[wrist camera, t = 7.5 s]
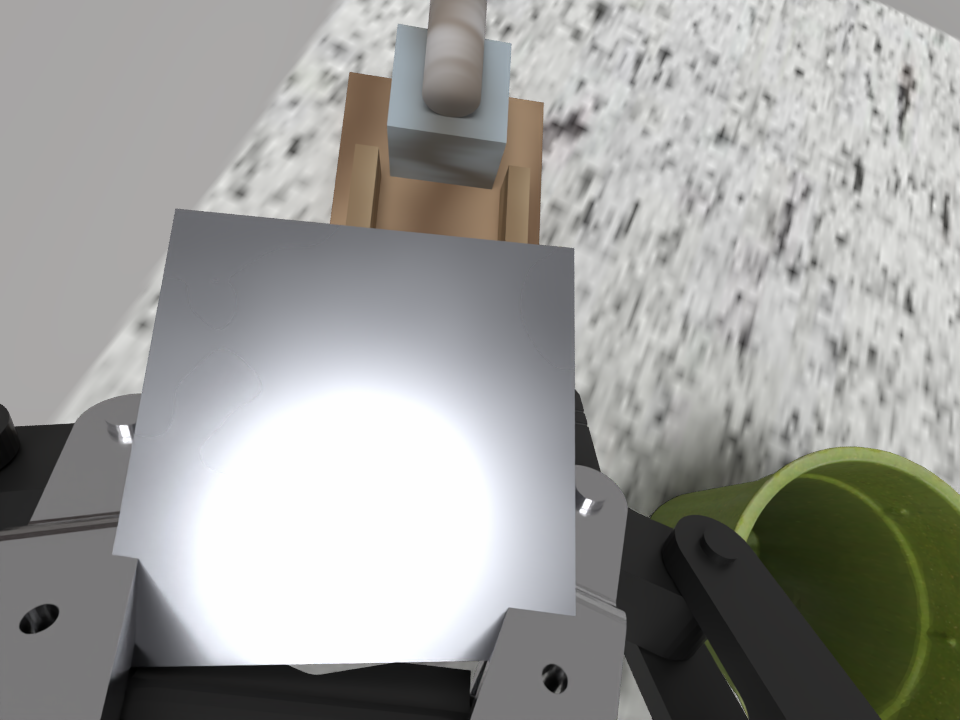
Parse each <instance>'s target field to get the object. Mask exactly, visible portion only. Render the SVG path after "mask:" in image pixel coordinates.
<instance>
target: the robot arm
mask: <svg viewBox="0 0 960 720" xmlns="http://www.w3.org/2000/svg"><path fill="white" fill-rule="evenodd" d="M141 395H142V394H129V395H123V396H118V397H114V398H111V399H108V400H105V401H103V402H101V403H98V404H96V405H94V406H93V407H91V408H89V409H88V410H87V411H85V412H84V413H83V414H82V415H81V416H80V417H79V418H78V419H77V421H76V422H75V423H71V424H55V425H38V426H37V425H35V426H16V427H14V424H13V422H12V419H11V417H10V414H9V412H8V411H7V409H6V408H5V407H4V406H3V405H1V404H0V720H617V715H618V705H619V696H620V686H621V676H622V666H623V657H624V655H625V657H626V660H627V662H628V664H629V666H630V669H631V671H632V673H633V676H634V678H635V680H636V683H637V685H638V687H639V689H640V692H641V694H642V696H643V699H644V701H645V703H646V705H647V708H648V710H649V712H650V715H651V717H652V719H653V720H748V718H749V720H882V719H881V718H880V717H879V716H878V714H877V713H876V712H875V710H874V709H873V708H872V706H871V705H870V704H869V702H868V701H867V700H866V698H865V697H864V696H863V695H862V693H861V692H860V691H859V689H858V688H857V687H856V685H855V684H854V683H853V681H852V680H851V679H850V677H849V676H848V675H847V673H846V672H845V671H844V670H843V668H842V667H841V666H840V664H839V663H838V662H837V660H836V659H835V658H834V656H833V655H832V654H831V652H830V651H829V650H828V649H827V647H826V646H825V645H824V643H823V642H822V641H821V639H820V638H819V637H818V635H817V634H816V633H815V631H814V630H813V629H812V627H811V626H810V625H809V624H808V622H807V621H806V620H805V618H804V617H803V616H802V614H801V613H800V612H799V610H798V609H797V608H796V606H795V605H794V604H793V603H792V601H791V600H790V599H789V597H788V596H787V595H786V593H785V592H784V591H783V589H782V588H781V587H780V585H779V584H778V583H777V582H776V580H775V579H774V578H773V576H772V575H771V574H770V572H769V571H768V570H767V568H766V567H765V566H764V564H763V563H762V562H761V560H760V559H759V558H758V557H757V555H756V554H755V553H754V551H753V550H752V549H751V547H750V546H749V545H748V544H747V543H746V541H745V540H744V539H743V538H742V537H741V536H740V535H739V534H737V533H736V532H735V531H734V530H732V529H731V528H729V527H728V526H726V525H725V524H723V523H721V522H719V521H717V520H715V519H713V518H710V517H706V516H702V515H688V516H685V517H683V518H681V519H680V520H679V521H678V523H677V524H676V526H675V527H674V529H673V528H671V527H668V526H666V525H664V524H661V523H659V522H657V521H654V520H652V519H650V518H647V517H645V516H643V515H641V514H638V513H636V512H634V511H633V510H631V509H630V508H628V506H627V501H626V499H625V496H624V494H623V493H622V491H621V489H620V488H619V487H618V486H617V485H616V484H615V483H614V482H613V481H612V480H611V479H610V478H608V477H607V476H606V475H604V474H603V473H601V471H600V468H599V464H598V460H597V457H596V453H595V449H594V446H593V442H592V438H591V435H590V431H589V427H587V420H586V417H585V414H584V413H583V412H584V409H583V406H582V402H581V398H580V395H579V394H578V392H577V391H576V390H575V579H576V616H571V615H563V614H555V613H548V612H540V611H533V610H525V609H518V608H510V607H509V608H508V610H507V613H506V615H505V618H504V621H503V623H502V626H501V629H500V631H499V634H498V637H497V639H496V642H495V645H494V647H493V650H492V652H491V655H490V658H489V660H488V661H479V663H478V666H477V668H476V671H475V673H474V676H473V679H472V681H471V684H470V677H471V670H462V669H453V668H445V667H436V666H427V665H419V664H410V663H401V662H395V663H389V664H383V665H377V666H371V667H365V668H358V669H352V670H346V671H340V672H334V673H328V674H322V675H312V674H308V673H305V672H302V671H300V670H298V669H296V668H293V667H291V666H289V665H286V664H279V665H224V666H168V667H130V665H131V660H132V655H133V650H134V645H135V631H136V603H137V575H138V558H133V557H126V556H118V555H112V553H113V548H114V542H115V537H116V531H117V526H118V520H119V515H120V509H121V504H122V499H123V493H124V488H125V482H126V477H127V471H128V466H129V460H130V455H131V449H132V444H133V438H134V433H135V428H136V422H137V417H138V411H139V406H140V400H141ZM707 639H708V641H709V643H710V644H711V646H712V648H713V650H714V651H715V653H716V655H717V657H718V658H719V660H720V662H721V663H722V665H723V667H724V669H725V670H726V672H727V674H728V675H729V677H730V679H731V681H732V682H733V684H734V686H735V688H736V689H737V691H738V693H739V694H740V696H741V698H742V700H743V702H744V704H745V707H746V710H747V713H748V718H747V716H746V715H745V713H744V711H743V709H742V708H741V706H740V704H739V702H738V701H737V699H736V697H735V695H734V694H733V692H732V690H731V688H730V687H729V685H728V683H727V681H726V680H725V678H724V676H723V674H722V673H721V671H720V669H719V667H718V666H717V664H716V662H715V660H714V659H713V657H712V655H711V653H710V652H709V650H708V648H707V646H706V645H705V641H706V640H707Z"/></svg>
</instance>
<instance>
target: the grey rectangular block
mask: <svg viewBox="0 0 960 720" xmlns="http://www.w3.org/2000/svg"><path fill="white" fill-rule="evenodd" d="M112 555H118V556H126V557H133V558H138V575H137V603H136V631H135V645H134V650H133V655H132V660H131V665H130V667H168V666H224V665H279V664H334V663H390V662H445V661H488V660H489V658H490V655H491V652H492V650H493V647H494V645H495V642H496V639H497V637H498V634H499V631H500V629H501V626H502V623H503V621H504V618H505V615H506V613H507V610H508V608H509V607H510V608H518V609H525V610H533V611H540V612H548V613H555V614H563V615H571V616H576V579H575V338H574V248H567V247H557V246H546V245H536V244H526V243H516V242H506V241H496V240H486V239H476V238H466V237H456V236H446V235H436V234H426V233H416V232H406V231H396V230H385V229H375V228H365V227H355V226H345V225H335V224H325V223H315V222H305V221H295V220H285V219H275V218H265V217H255V216H245V215H235V214H224V213H214V212H204V211H194V210H184V209H175V215H174V220H173V226H172V231H171V236H170V242H169V247H168V253H167V258H166V264H165V269H164V275H163V280H162V286H161V291H160V297H159V302H158V307H157V313H156V318H155V324H154V329H153V335H152V340H151V346H150V351H149V357H148V362H147V367H146V373H145V378H144V384H143V389H142V395H141V400H140V406H139V411H138V417H137V422H136V428H135V433H134V438H133V444H132V449H131V455H130V460H129V466H128V471H127V477H126V482H125V488H124V493H123V499H122V504H121V509H120V515H119V520H118V526H117V531H116V537H115V542H114V548H113V553H112Z"/></svg>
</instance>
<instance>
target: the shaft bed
mask: <svg viewBox="0 0 960 720" xmlns="http://www.w3.org/2000/svg"><path fill="white" fill-rule="evenodd" d="M486 10H487V0H431V1H430V12H429V22H428V29H425V28H419V27H413V26H408V25H402V24H398V28H397V37H396V46H395V56H394V65H393V74H392V79H391V78H384V77H378V76H372V75H365V74H359V73H353V72H350V73H349V81H348V88H347V96H346V104H345V111H344V119H343V127H342V135H341V142H340V150H339V158H338V166H337V173H336V181H335V189H334V197H333V204H332V212H331V220H330V224H335V225H345V226H355V227H365V228H375V229H385V230H396V231H406V232H416V233H426V234H436V235H446V236H456V237H466V238H476V239H486V240H496V241H506V242H516V243H526V244H536V245H539V230H540V199H541V168H542V138H543V107H544V103H542V102H536V101H529V100H523V99H517V98H510V97H509V83H510V63H511V43H505V42H500V41H494V40H488V39H485V26H486Z"/></svg>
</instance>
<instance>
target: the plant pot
mask: <svg viewBox="0 0 960 720" xmlns="http://www.w3.org/2000/svg"><path fill="white" fill-rule="evenodd" d="M688 515H702V516H706V517H710V518H713V519H715V520H717V521H719V522H721V523H723V524H725V525H726V526H728V527H729V528H731V529H732V530H734V531H735V532H736V533H737V534H739V535H740V536H741V537H742V538H743V539H744V540H745V541H746V543H747V544H748V545H749V546H750V547H751V549H752V550H753V551H754V553H755V554H756V555H757V557H758V558H759V559H760V560H761V562H762V563H763V564H764V566H765V567H766V568H767V570H768V571H769V572H770V574H771V575H772V576H773V578H774V579H775V580H776V582H777V583H778V584H779V585H780V587H781V588H782V589H783V591H784V592H785V593H786V595H787V596H788V597H789V599H790V600H791V601H792V603H793V604H794V605H795V606H796V608H797V609H798V610H799V612H800V613H801V614H802V616H803V617H804V618H805V620H806V621H807V622H808V624H809V625H810V626H811V627H812V629H813V630H814V631H815V633H816V634H817V635H818V637H819V638H820V639H821V641H822V642H823V643H824V645H825V646H826V647H827V649H828V650H829V651H830V652H831V654H832V655H833V656H834V658H835V659H836V660H837V662H838V663H839V664H840V666H841V667H842V668H843V670H844V671H845V672H846V673H847V675H848V676H849V677H850V679H851V680H852V681H853V683H854V684H855V685H856V687H857V688H858V689H859V691H860V692H861V693H862V695H863V696H864V697H865V698H866V700H867V701H868V702H869V704H870V705H871V706H872V708H873V709H874V710H875V712H876V713H877V714H878V716H879V717H880V718H881V719H882V720H960V495H959V494H958V493H957V492H956V491H955V490H954V489H953V488H952V487H951V486H949V485H948V484H947V483H945V482H944V481H943V480H941V479H940V478H939V477H937V476H936V475H935V474H934V473H932V472H931V471H929V470H927V469H926V468H924V467H922V466H920V465H918V464H916V463H914V462H912V461H910V460H908V459H906V458H904V457H901V456H899V455H896V454H893V453H891V452H887V451H882V450H878V449H871V448H864V447H836V448H829V449H824V450H820V451H816V452H813V453H810V454H807V455H805V456H802V457H800V458H798V459H796V460H794V461H792V462H790V463H789V464H787V465H785V466H784V467H782V468H781V469H780V470H778V471H777V472H776V473H774V474H771V475H768V476H766V477H764V478H761V479H759V480H758V481H753V482H747V483H742V484H736V485H731V486H725V487H720V488H714V489H709V490H704V491H698V492H693V493H688V494H683V495H680V496H677V497H675V498H673V499H671V500H670V501H668V502H666V503H665V504H663V505H662V506H660V507H659V508H658V509H657V510H656V511H655V512H654V514H653V515H652V516H651V518H650V519H652V520H654V521H657V522H659V523H661V524H664V525H666V526H668V527H671V528H673V529H674V527H675V526H676V524H677V523H678V521H679V520H680V519H681V518H683V517H685V516H688ZM705 645H706V646H707V648H708V650H709V652H710V653H711V655H712V657H713V659H714V660H715V662H716V664H717V666H718V667H719V669H720V671H721V673H722V674H723V675H724V677H725V679H726V680H727V682H728V683H729V685H730V686H731V688H732V689H733V691H734V692H735V693H736V695H737V696H738V698H739V700H740V702H741V704H742V707H743V709H744V711H745V713H746V715H747V717H748V713H747V710H746V707H745V704H744V702H743V700H742V698H741V696H740V694H739V693H738V691H737V689H736V688H735V686H734V684H733V682H732V681H731V679H730V677H729V675H728V674H727V672H726V670H725V669H724V667H723V665H722V663H721V662H720V660H719V658H718V657H717V655H716V653H715V651H714V650H713V648H712V646H711V644H710V643H709V641H708V639H707V640H706V641H705ZM748 719H749V718H748Z"/></svg>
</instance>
